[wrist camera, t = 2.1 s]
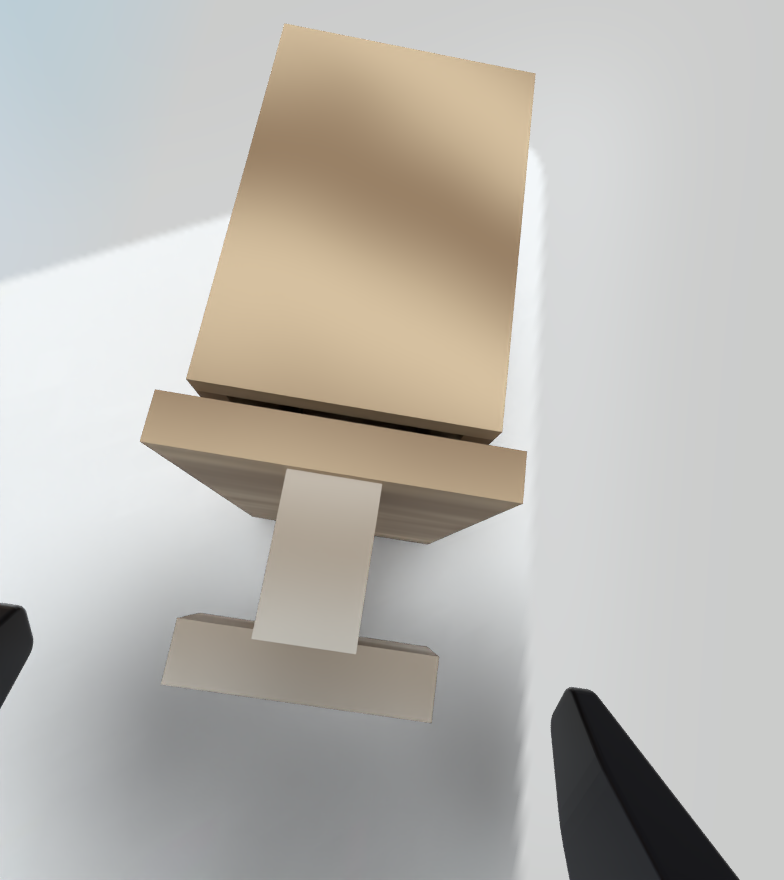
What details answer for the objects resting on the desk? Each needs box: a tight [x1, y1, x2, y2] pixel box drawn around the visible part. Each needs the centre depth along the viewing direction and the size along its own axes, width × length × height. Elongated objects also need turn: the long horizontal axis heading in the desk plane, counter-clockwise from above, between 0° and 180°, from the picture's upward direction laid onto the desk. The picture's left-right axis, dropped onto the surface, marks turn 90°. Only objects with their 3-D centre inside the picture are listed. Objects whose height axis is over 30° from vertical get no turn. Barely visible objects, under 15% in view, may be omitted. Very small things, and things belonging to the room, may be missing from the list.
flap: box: [140, 390, 527, 723], centre depth 14 cm, size 5×7×11 cm
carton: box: [186, 24, 535, 445], centre depth 17 cm, size 9×6×12 cm, turn 171°
